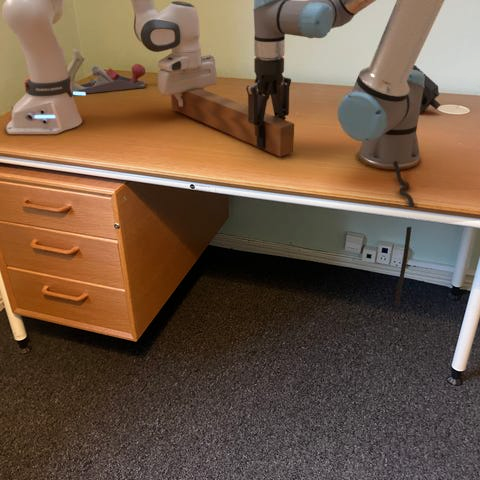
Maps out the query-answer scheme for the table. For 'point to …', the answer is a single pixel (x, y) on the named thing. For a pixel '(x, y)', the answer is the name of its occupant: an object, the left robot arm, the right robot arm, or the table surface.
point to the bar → (236, 120)
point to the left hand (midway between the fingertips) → (190, 103)
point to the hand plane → (104, 77)
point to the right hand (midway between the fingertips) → (268, 144)
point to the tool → (428, 93)
